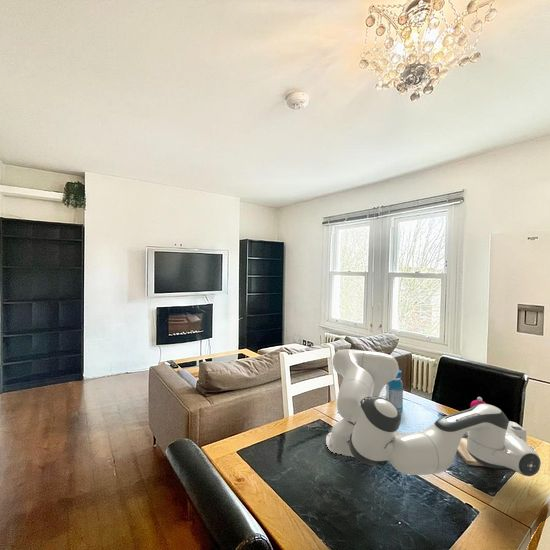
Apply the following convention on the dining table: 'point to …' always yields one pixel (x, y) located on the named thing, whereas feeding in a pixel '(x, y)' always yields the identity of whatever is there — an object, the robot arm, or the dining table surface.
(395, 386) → the beverage bottle
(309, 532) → the dining table surface
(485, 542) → the dining table surface
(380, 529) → the dining table surface
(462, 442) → the oak board
